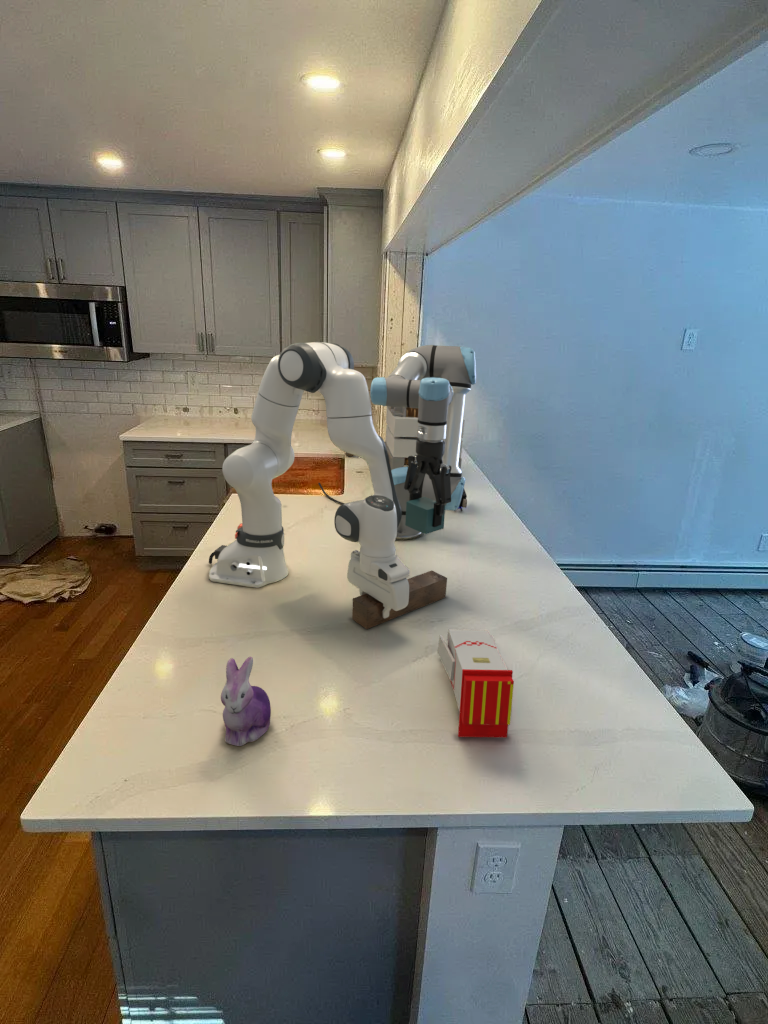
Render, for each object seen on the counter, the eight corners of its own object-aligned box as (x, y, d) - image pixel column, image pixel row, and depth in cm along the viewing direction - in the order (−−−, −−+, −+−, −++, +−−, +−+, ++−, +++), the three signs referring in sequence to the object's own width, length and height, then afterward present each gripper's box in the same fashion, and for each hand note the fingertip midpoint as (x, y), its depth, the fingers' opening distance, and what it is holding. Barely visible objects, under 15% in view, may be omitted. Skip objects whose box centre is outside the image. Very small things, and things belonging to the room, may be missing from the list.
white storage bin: (382, 463, 289) (386, 382, 275) (445, 464, 293) (451, 384, 279) (390, 482, 257) (394, 392, 243) (460, 483, 261) (468, 394, 247)
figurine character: (467, 516, 223) (461, 500, 237) (469, 499, 220) (463, 483, 233) (450, 516, 223) (446, 499, 236) (452, 498, 220) (447, 483, 233)
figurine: (228, 756, 99) (223, 684, 94) (215, 719, 107) (210, 651, 102) (280, 740, 103) (279, 670, 98) (264, 706, 111) (262, 640, 106)
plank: (366, 629, 140) (367, 607, 138) (352, 619, 144) (352, 598, 142) (445, 597, 157) (447, 578, 155) (430, 589, 161) (431, 570, 159)
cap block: (425, 534, 151) (427, 510, 148) (405, 525, 156) (406, 501, 154) (443, 528, 155) (445, 504, 152) (423, 519, 160) (424, 496, 158)
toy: (488, 613, 130) (523, 677, 101) (484, 667, 133) (517, 744, 104) (435, 612, 130) (455, 676, 101) (432, 666, 133) (451, 743, 103)
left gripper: (342, 550, 145) (341, 598, 150) (394, 579, 131) (392, 631, 135) (361, 544, 149) (359, 591, 154) (414, 572, 134) (411, 623, 139)
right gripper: (393, 433, 152) (389, 512, 160) (450, 450, 137) (443, 536, 145) (413, 429, 156) (408, 507, 165) (471, 445, 142) (463, 529, 150)
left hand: (375, 610), depth 144 cm, fingers closed on plank, 6 cm apart
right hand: (425, 520), depth 155 cm, fingers closed on cap block, 8 cm apart
